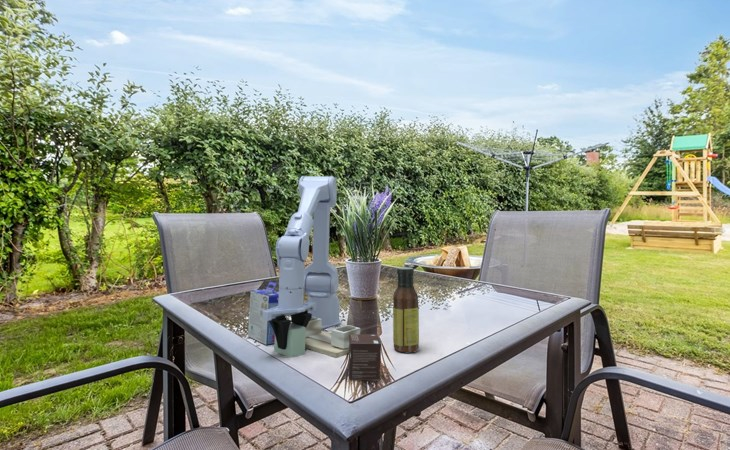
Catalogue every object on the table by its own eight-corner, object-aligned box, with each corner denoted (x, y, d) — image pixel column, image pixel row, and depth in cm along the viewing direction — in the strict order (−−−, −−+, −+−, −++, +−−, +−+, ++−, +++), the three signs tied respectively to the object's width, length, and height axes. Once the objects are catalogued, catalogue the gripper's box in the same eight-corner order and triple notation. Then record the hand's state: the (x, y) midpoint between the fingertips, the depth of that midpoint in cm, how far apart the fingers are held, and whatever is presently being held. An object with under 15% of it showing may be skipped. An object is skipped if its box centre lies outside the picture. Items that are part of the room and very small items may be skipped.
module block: (287, 347, 91) (288, 322, 91) (304, 353, 88) (305, 326, 88) (274, 351, 88) (275, 325, 88) (291, 357, 84) (292, 330, 84)
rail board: (317, 333, 104) (317, 314, 104) (366, 346, 94) (366, 325, 94) (286, 342, 95) (286, 321, 95) (336, 357, 85) (336, 334, 85)
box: (347, 369, 79) (348, 333, 79) (376, 369, 79) (377, 333, 79) (349, 381, 73) (350, 342, 73) (380, 381, 73) (381, 342, 73)
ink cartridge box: (286, 342, 96) (287, 284, 96) (266, 346, 92) (268, 286, 92) (266, 333, 103) (267, 279, 103) (247, 337, 99) (248, 281, 99)
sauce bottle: (420, 347, 94) (423, 267, 94) (415, 355, 88) (418, 270, 88) (395, 344, 96) (397, 265, 96) (388, 351, 90) (391, 268, 90)
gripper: (277, 293, 80) (275, 358, 80) (325, 286, 91) (324, 342, 91) (257, 289, 84) (255, 350, 84) (305, 282, 96) (303, 336, 95)
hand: (289, 346), depth 88 cm, fingers closed on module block, 4 cm apart
